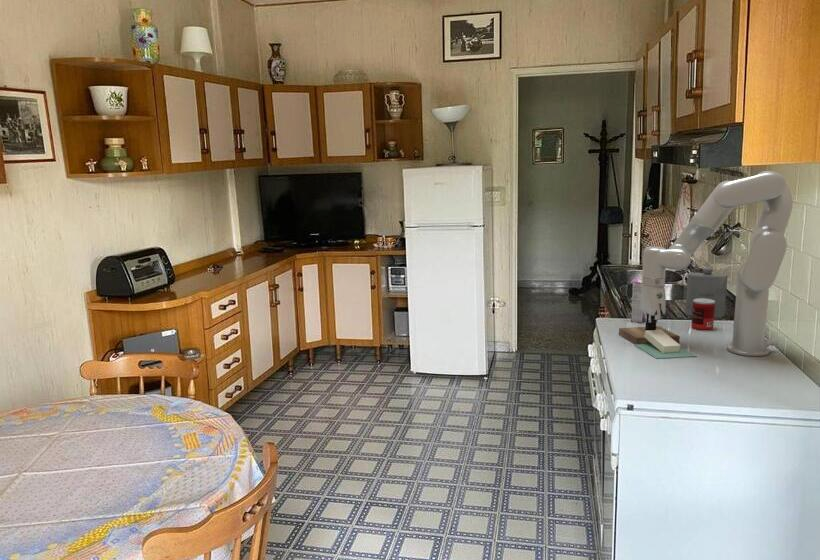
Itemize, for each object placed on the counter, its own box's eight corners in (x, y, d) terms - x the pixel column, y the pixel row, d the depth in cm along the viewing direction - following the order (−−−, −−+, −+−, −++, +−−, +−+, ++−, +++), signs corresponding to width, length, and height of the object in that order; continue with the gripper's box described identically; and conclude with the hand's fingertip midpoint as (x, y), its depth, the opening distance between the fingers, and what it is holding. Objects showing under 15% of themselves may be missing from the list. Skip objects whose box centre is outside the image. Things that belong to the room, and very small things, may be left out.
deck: (659, 332, 238) (659, 326, 238) (679, 342, 225) (679, 336, 224) (618, 334, 237) (619, 328, 236) (636, 345, 223) (636, 338, 222)
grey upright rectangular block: (685, 316, 262) (688, 268, 259) (684, 313, 268) (687, 266, 264) (725, 318, 257) (729, 270, 254) (723, 315, 263) (727, 268, 259)
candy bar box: (635, 316, 264) (637, 277, 261) (648, 317, 262) (650, 278, 259) (630, 321, 255) (632, 281, 252) (643, 323, 252) (645, 282, 249)
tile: (659, 335, 224) (660, 329, 223) (679, 351, 213) (680, 345, 212) (644, 336, 223) (645, 330, 222) (662, 353, 212) (664, 346, 211)
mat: (671, 343, 224) (671, 342, 224) (696, 356, 209) (696, 355, 209) (633, 345, 223) (633, 344, 223) (656, 358, 207) (656, 358, 207)
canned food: (713, 327, 245) (715, 299, 243) (712, 331, 238) (714, 303, 236) (692, 324, 249) (693, 297, 247) (690, 329, 242) (692, 301, 240)
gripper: (674, 285, 215) (671, 338, 218) (653, 277, 229) (650, 327, 233) (653, 286, 214) (650, 339, 217) (633, 278, 228) (630, 327, 232)
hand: (650, 332), depth 225 cm, fingers closed
